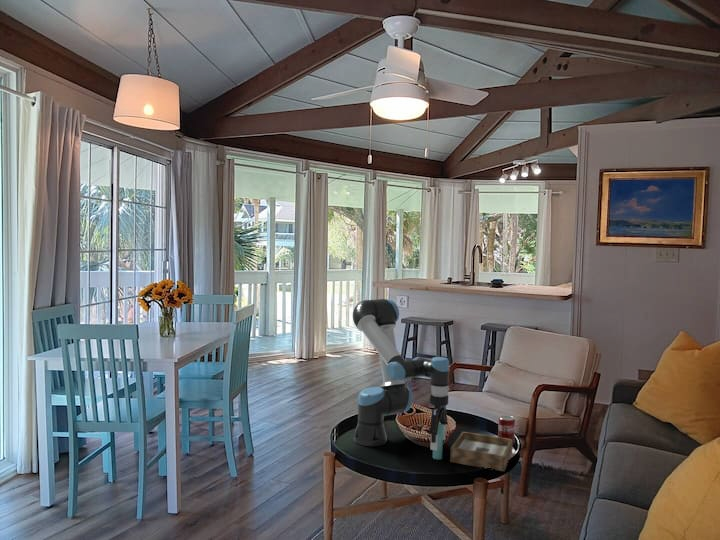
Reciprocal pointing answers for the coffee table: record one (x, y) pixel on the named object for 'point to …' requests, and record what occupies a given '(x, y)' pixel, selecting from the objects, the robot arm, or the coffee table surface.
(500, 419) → the soda can
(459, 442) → the wooden box with hole
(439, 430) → the teal peg
